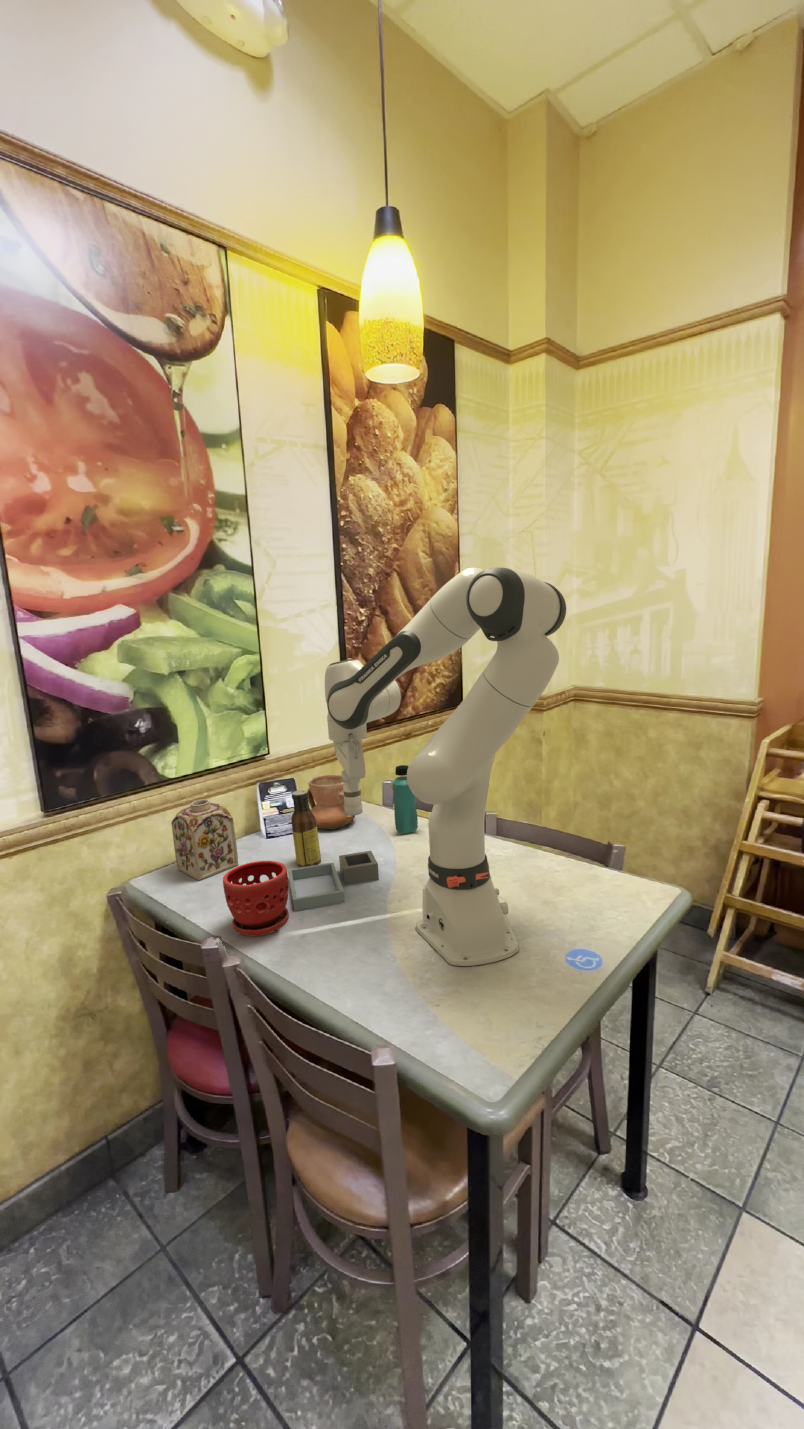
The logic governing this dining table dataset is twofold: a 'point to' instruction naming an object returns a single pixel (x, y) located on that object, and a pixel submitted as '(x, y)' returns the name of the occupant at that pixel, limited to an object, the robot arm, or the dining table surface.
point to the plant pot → (257, 897)
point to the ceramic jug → (328, 801)
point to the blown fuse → (351, 797)
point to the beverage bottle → (404, 803)
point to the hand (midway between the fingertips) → (351, 787)
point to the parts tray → (316, 899)
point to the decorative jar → (204, 839)
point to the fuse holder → (358, 867)
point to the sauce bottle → (304, 831)
